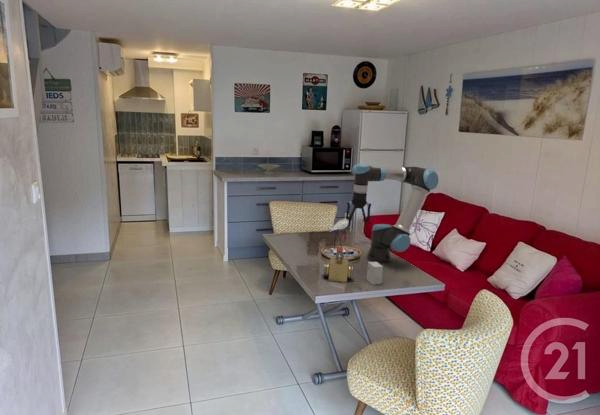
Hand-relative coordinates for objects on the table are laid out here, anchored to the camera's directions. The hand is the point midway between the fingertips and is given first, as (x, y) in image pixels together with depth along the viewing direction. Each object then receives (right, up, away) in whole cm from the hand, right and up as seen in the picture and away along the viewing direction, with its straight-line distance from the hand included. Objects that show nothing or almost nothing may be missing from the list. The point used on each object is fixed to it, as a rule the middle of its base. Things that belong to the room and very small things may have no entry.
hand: (356, 231), depth 237 cm
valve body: (-11, -26, -5) cm, 29 cm away
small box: (+9, -28, -6) cm, 30 cm away
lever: (-10, -14, -1) cm, 17 cm away
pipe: (-11, -26, -5) cm, 29 cm away
